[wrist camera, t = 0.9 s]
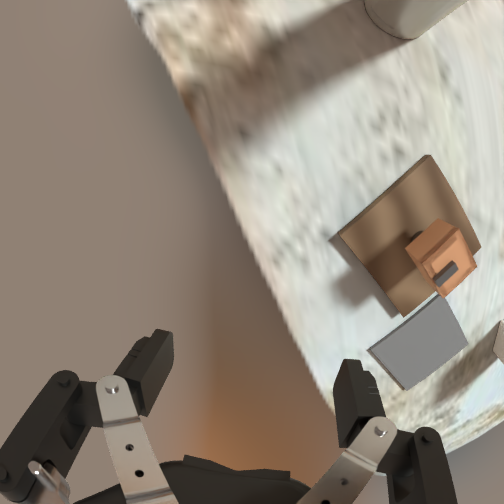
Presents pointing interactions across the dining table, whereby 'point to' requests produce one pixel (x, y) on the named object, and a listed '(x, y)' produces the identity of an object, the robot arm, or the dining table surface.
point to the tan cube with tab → (442, 256)
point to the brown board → (405, 231)
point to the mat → (421, 343)
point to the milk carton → (500, 342)
